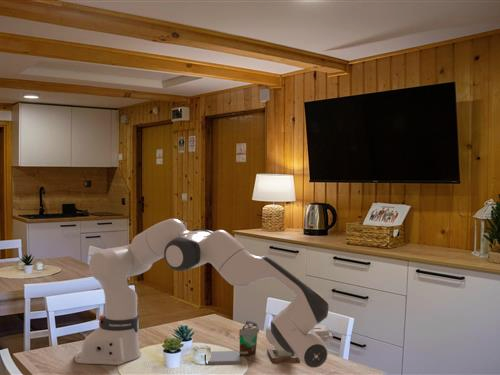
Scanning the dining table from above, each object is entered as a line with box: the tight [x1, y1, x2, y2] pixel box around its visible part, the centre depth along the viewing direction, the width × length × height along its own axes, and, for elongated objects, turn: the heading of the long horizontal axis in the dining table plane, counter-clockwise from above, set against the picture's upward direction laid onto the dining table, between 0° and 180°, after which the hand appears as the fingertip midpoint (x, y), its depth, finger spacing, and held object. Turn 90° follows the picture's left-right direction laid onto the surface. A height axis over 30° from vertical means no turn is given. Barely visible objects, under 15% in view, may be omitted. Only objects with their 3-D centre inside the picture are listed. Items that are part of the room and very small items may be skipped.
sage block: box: [274, 350, 292, 357], centre depth 184 cm, size 5×5×12 cm
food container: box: [238, 320, 260, 357], centre depth 189 cm, size 12×6×10 cm, turn 168°
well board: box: [266, 348, 301, 363], centre depth 184 cm, size 10×10×2 cm
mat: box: [207, 350, 242, 365], centre depth 181 cm, size 12×10×1 cm
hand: (292, 326), depth 172 cm, fingers open, 8 cm apart
